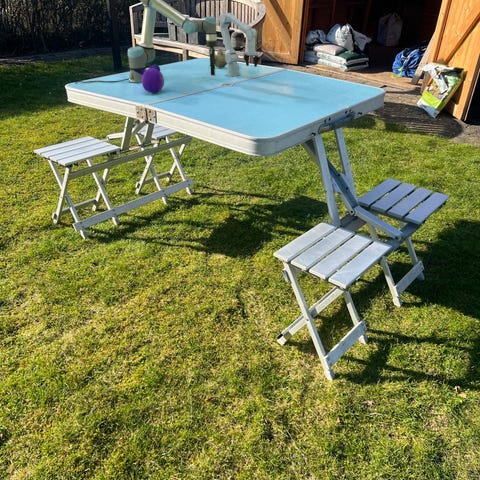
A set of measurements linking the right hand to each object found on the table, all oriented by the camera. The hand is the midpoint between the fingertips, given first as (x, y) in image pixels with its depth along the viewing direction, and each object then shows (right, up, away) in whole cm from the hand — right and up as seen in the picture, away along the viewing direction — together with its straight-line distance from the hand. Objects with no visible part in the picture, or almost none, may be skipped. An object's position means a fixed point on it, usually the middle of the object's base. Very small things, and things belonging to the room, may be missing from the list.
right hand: (251, 66), depth 338 cm
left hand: (-29, -8, -4) cm, 30 cm away
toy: (-70, -29, -30) cm, 81 cm away
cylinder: (-29, -8, -3) cm, 30 cm away
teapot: (-25, +16, +45) cm, 54 cm away
